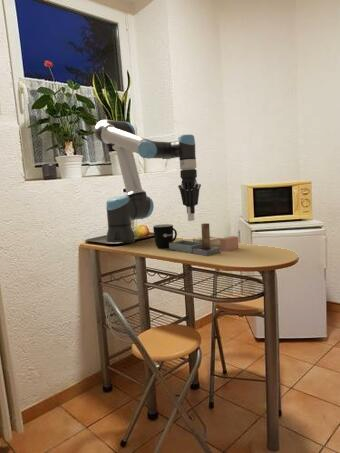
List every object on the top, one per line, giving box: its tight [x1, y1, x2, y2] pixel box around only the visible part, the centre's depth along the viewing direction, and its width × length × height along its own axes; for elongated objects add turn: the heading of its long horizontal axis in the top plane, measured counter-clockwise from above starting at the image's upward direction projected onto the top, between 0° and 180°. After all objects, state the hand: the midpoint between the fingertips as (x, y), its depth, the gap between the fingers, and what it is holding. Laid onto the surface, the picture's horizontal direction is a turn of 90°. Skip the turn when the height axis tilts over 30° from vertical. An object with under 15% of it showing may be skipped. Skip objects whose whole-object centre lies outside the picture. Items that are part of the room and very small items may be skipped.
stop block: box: [220, 235, 239, 252], centre depth 151 cm, size 3×8×5 cm, turn 131°
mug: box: [152, 223, 178, 250], centre depth 164 cm, size 12×9×10 cm
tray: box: [168, 239, 202, 254], centre depth 155 cm, size 14×8×3 cm, turn 41°
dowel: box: [200, 223, 211, 250], centre depth 146 cm, size 3×3×12 cm
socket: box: [192, 246, 221, 257], centre depth 147 cm, size 8×8×2 cm
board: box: [192, 236, 222, 248], centre depth 161 cm, size 10×8×4 cm
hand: (191, 220), depth 167 cm, fingers closed
